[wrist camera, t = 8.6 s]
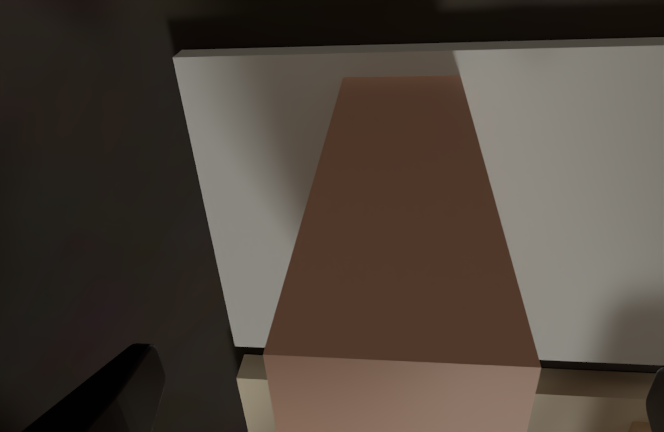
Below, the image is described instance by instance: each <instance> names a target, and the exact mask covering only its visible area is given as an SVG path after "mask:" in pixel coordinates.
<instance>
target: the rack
mask: <svg viewBox="0 0 664 432" xmlns="http://www.w3.org/2000/svg"><path fill="white" fill-rule="evenodd" d="M655 375H656V373H635V372H614V371H592V370H571V369H549V368H541V371H540V376H539V380H538V385H537V389H536V393H535V398H534V402H533V407H532V411H531V416H530V420H529V425H528V429H527V432H628V431H629V429H630V426H631V424H632V421H633V422H649V420H648V416H647V412H646V398H647V395H648V393H649V390H650V387H651V385H652V382H653V380H654V377H655ZM236 379H237V383H238V388H239V392H240V397H241V401H242V405H243V410H244V414H245V419H246V423H247V428H248V432H276V426H275V421H274V415H273V409H272V404H271V398H270V392H269V387H268V381H267V375H266V370H265V364H264V359H263V355H247V354H244V357H243V360H242V363H241V366H240V369H239V372H238V375H237V378H236Z"/></svg>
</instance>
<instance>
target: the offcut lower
mask: <svg viewBox="0 0 664 432" xmlns="http://www.w3.org/2000/svg"><path fill="white" fill-rule="evenodd" d="M628 432H652V431H651V427H650V424H649V422H633V421H632V424H631V426H630V429H629V431H628Z"/></svg>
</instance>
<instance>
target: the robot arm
mask: <svg viewBox="0 0 664 432" xmlns="http://www.w3.org/2000/svg"><path fill="white" fill-rule="evenodd" d="M164 385H165V372H164V368H163V365H162V362H161V359H160V356H159V353H158V350H157V348H156V347H155V346H154V345H153V344H140V343H136V344H132V345H130V346H129V347H128V348H126V349H125V350H124V351H123V352H121V353H120V354H119V355H118V356H116V357H115V358H114V359H113V360H111V361H110V362H109V363H107V364H106V365H105V366H104V367H102V368H101V369H100V370H99V371H97V372H96V373H95V374H94V375H92V376H91V377H90V378H89V379H87V380H86V381H85V382H83V383H82V384H81V385H80V386H78V387H77V388H76V389H75V390H73V391H72V392H71V393H70V394H68V395H67V396H66V397H65V398H63V399H62V400H61V401H59V402H58V403H57V404H56V405H54V406H53V407H52V408H51V409H49V410H48V411H47V412H46V413H44V414H43V415H42V416H41V417H39V418H38V419H37V420H35V421H34V422H33V423H32V424H30V425H29V426H28V427H27V428H25V429H24V430H23V431H22V432H152V429H153V425H154V422H155V418H156V414H157V411H158V407H159V404H160V400H161V396H162V393H163V389H164ZM646 412H647V416H648V420H649V424H650V427H651V431H652V432H664V367H663V368H660V369H659V370H658V371H657V373H656V375H655V377H654V380H653V382H652V385H651V387H650V390H649V393H648V395H647V398H646Z"/></svg>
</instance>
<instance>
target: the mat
mask: <svg viewBox="0 0 664 432" xmlns="http://www.w3.org/2000/svg"><path fill="white" fill-rule="evenodd" d="M173 62H174V66H175V71H176V75H177V80H178V85H179V89H180V94H181V99H182V103H183V108H184V113H185V117H186V122H187V127H188V131H189V136H190V140H191V145H192V150H193V154H194V159H195V164H196V168H197V173H198V178H199V182H200V187H201V191H202V196H203V201H204V205H205V210H206V215H207V219H208V224H209V229H210V233H211V238H212V242H213V247H214V252H215V256H216V261H217V266H218V270H219V275H220V280H221V284H222V289H223V294H224V298H225V303H226V307H227V312H228V317H229V321H230V326H231V331H232V335H233V340H234V345H235V346H239V347H261V348H265V345H266V342H267V338H268V335H269V332H270V328H271V325H272V321H273V318H274V314H275V311H276V307H277V304H278V301H279V297H280V294H281V290H282V287H283V283H284V280H285V276H286V273H287V269H288V266H289V263H290V259H291V256H292V252H293V249H294V245H295V242H296V238H297V235H298V232H299V228H300V225H301V221H302V218H303V214H304V211H305V207H306V204H307V201H308V197H309V194H310V190H311V187H312V183H313V180H314V176H315V173H316V170H317V166H318V163H319V159H320V156H321V152H322V149H323V145H324V142H325V138H326V135H327V132H328V128H329V125H330V121H331V118H332V114H333V111H334V107H335V104H336V101H337V97H338V94H339V90H340V87H341V83H342V80H343V77H394V76H449V75H460V76H461V79H462V83H463V87H464V90H465V94H466V98H467V101H468V105H469V108H470V112H471V116H472V119H473V123H474V126H475V130H476V134H477V137H478V141H479V145H480V148H481V152H482V155H483V159H484V163H485V166H486V170H487V173H488V177H489V181H490V184H491V188H492V191H493V195H494V199H495V202H496V206H497V210H498V213H499V217H500V220H501V224H502V228H503V231H504V235H505V238H506V242H507V246H508V249H509V253H510V256H511V260H512V264H513V267H514V271H515V275H516V278H517V282H518V285H519V289H520V293H521V296H522V300H523V303H524V307H525V311H526V314H527V318H528V321H529V325H530V329H531V332H532V336H533V340H534V343H535V347H536V350H537V354H538V358H539V360H553V361H575V362H597V363H620V364H642V365H664V37H649V38H612V39H574V40H536V41H498V42H461V43H423V44H385V45H347V46H310V47H272V48H234V49H196V50H181V51H180V52H179V53H178V54H176V55H175V56H174V57H173Z"/></svg>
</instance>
